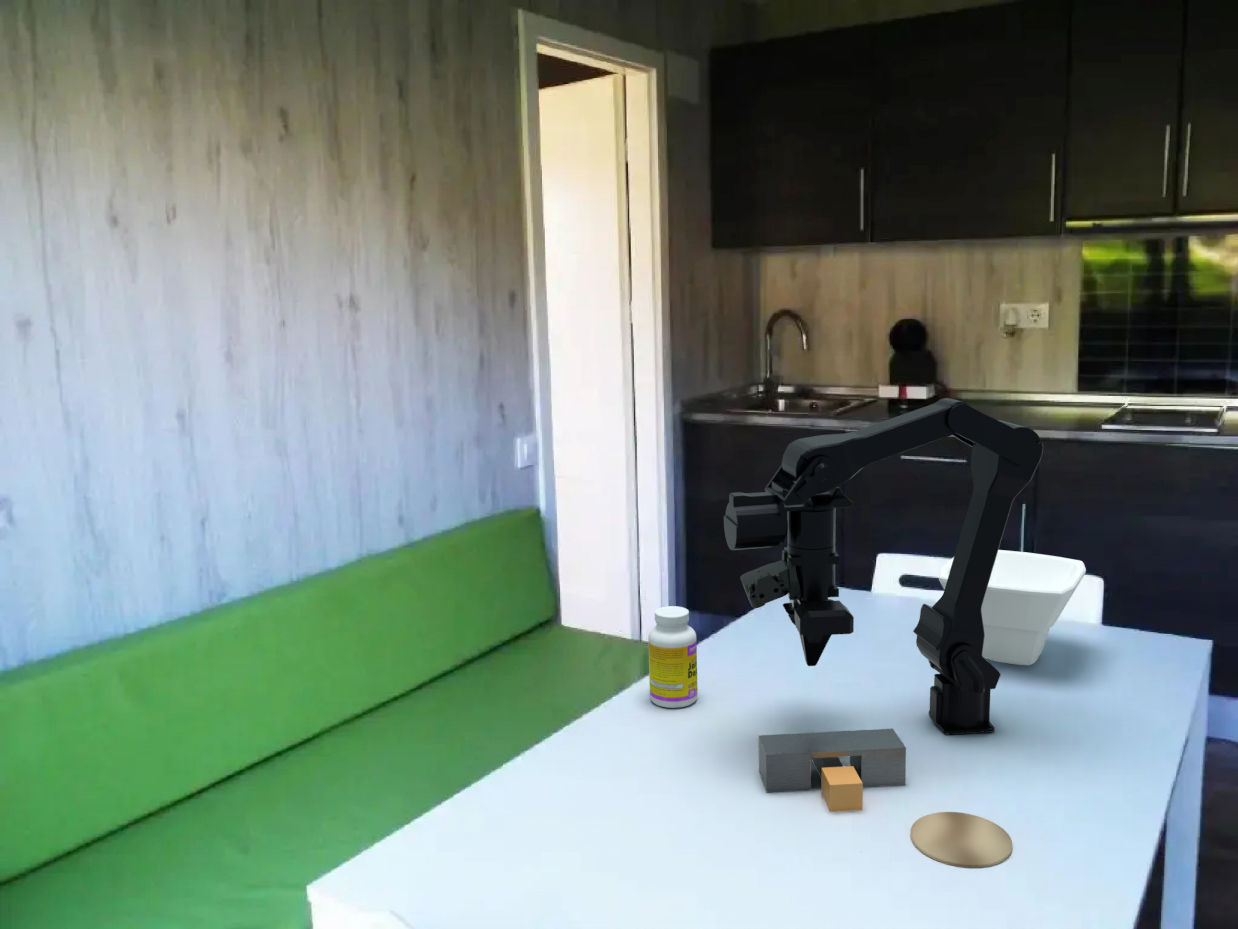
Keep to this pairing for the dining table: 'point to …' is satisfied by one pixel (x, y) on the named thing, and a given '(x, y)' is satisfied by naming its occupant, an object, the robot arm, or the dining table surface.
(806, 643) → the robot arm
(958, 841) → the coaster
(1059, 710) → the dining table surface
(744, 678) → the dining table surface
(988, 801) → the dining table surface
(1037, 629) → the bowl
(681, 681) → the supplement bottle
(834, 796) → the tan block with bar
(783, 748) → the grey notched block
